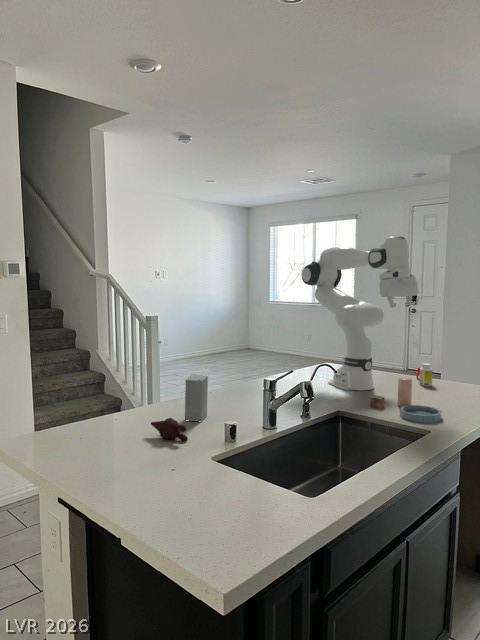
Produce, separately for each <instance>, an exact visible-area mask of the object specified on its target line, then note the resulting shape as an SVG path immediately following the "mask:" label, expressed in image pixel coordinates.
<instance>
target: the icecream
mask: <svg viewBox="0 0 480 640" xmlns="http://www.w3.org/2000/svg"><path fill="white" fill-rule="evenodd" d="M150 425H151V426H152V427H153V428H155V430H157V431H158V433H159V436H160V437H161V438H162V439H163V438H166V439H167V440H174V439H176V438H177V439H178V440H180V441H182V442H185V441H186V442H187V441H188V438H189V437H188V436H187V435H185V432H186V431H187V426H186V425H185V424H180V423H179V422H178V421H177V420H175V419H173V418H172V417H169V418H166V419H165V420H160V421H157V420H156V421H151V422H150ZM183 433H184V434H183ZM166 439H165V440H166Z"/></svg>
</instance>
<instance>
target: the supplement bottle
mask: <svg viewBox="0 0 480 640" xmlns="http://www.w3.org/2000/svg"><path fill="white" fill-rule="evenodd" d="M420 367H421V368H420V375H419V385H420V386H422V387H431V386H432V385H433V368H432V366H431V363H426V362H425V363H421V366H420Z"/></svg>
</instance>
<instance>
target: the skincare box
mask: <svg viewBox="0 0 480 640" xmlns="http://www.w3.org/2000/svg"><path fill="white" fill-rule="evenodd" d="M208 381H209V375H204V374H195V373H194V374H191V375H190V376H188V377H187V378H186V379H185V395H184V397H185V399H184V400H185V401H184V402H185V403H184V404H185V405H184V421H185V420H189V421H202V420H203V421H204V419H205V418H206V417H207V416H208V387H209V386H208V385H209V382H208ZM189 421H188V422H189ZM203 421H202V422H203Z"/></svg>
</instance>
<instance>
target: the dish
mask: <svg viewBox="0 0 480 640" xmlns="http://www.w3.org/2000/svg"><path fill="white" fill-rule="evenodd" d="M399 416H400V417H401V418H402V419H403V418H404V419H403V420H406V419H407V420H406V421H409V422H414V421H415V422H416V423H421V422H422V424H427V423H428V424H429V423H437V422H440V421H441V420H442V417H443V416H442V410H440V409H439V408H437V407H433V406H428V405H421V404H411V405H407V406H402V407H399ZM415 422H414V423H415Z"/></svg>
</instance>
